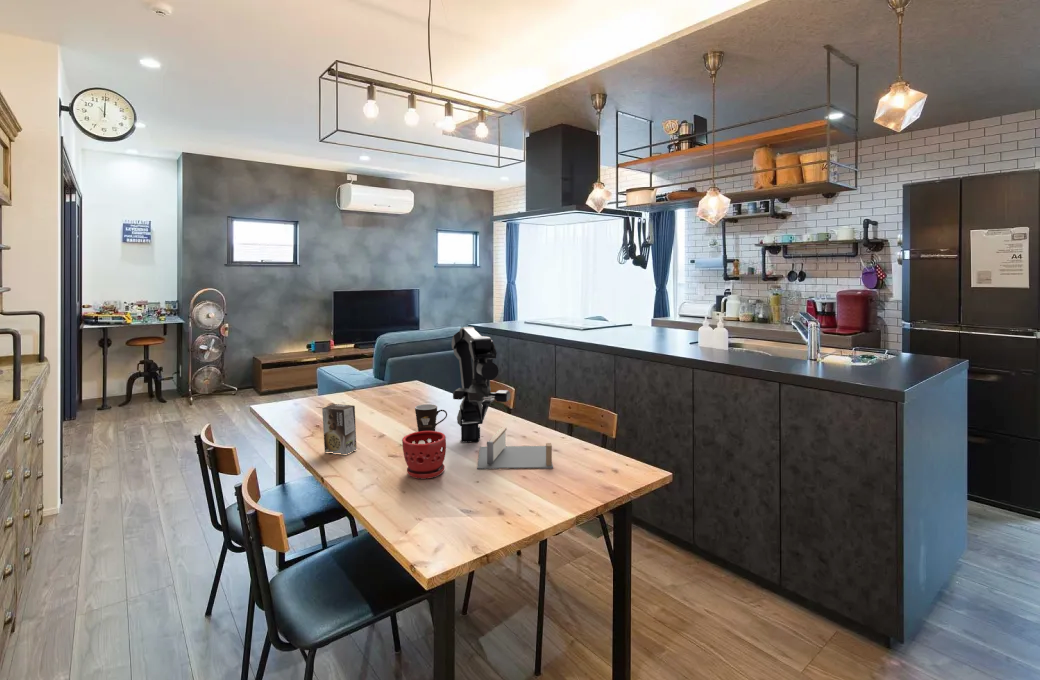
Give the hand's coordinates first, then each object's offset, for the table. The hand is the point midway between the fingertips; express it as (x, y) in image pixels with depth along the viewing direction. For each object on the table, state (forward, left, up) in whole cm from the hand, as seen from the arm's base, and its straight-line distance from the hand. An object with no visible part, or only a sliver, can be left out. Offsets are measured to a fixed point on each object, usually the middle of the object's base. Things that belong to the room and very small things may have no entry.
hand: (481, 419), depth 188 cm
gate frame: (+11, -4, -12) cm, 17 cm away
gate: (+5, -4, -11) cm, 13 cm away
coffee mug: (-21, +26, -12) cm, 35 cm away
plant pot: (-17, -18, -12) cm, 28 cm away
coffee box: (-49, +4, -12) cm, 51 cm away
